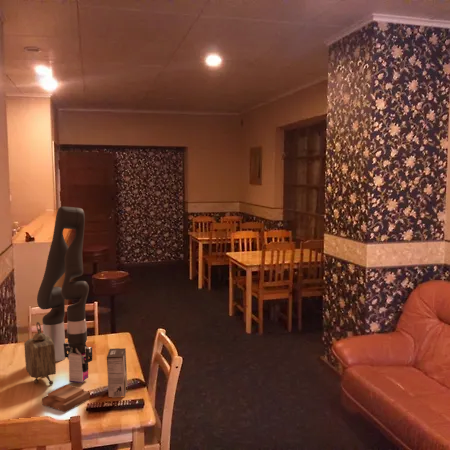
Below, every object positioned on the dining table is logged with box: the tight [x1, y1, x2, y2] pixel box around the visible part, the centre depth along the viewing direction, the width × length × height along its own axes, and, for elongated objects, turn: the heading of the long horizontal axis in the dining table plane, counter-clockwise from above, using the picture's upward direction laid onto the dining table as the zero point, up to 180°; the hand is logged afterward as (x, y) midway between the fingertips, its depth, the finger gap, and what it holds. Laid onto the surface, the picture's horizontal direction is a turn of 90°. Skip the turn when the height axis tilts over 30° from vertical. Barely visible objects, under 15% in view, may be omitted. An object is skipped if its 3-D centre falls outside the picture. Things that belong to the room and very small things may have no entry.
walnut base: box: [41, 384, 91, 413], centre depth 188 cm, size 12×12×4 cm
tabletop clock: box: [23, 321, 57, 386], centre depth 205 cm, size 14×9×25 cm, turn 32°
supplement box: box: [68, 353, 89, 384], centre depth 204 cm, size 6×6×12 cm
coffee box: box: [106, 347, 128, 398], centre depth 194 cm, size 9×6×16 cm
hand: (78, 369), depth 204 cm, fingers closed on supplement box, 6 cm apart
